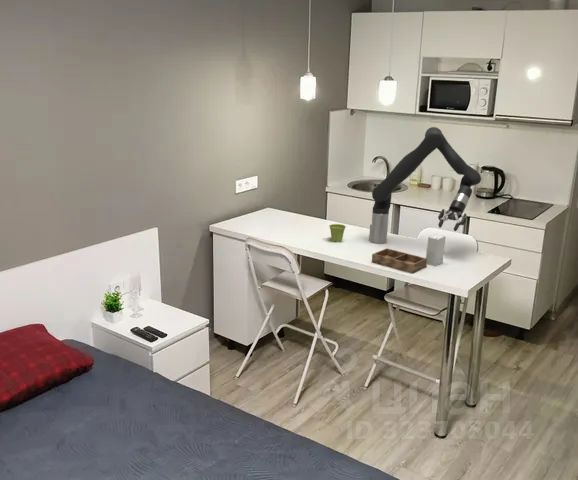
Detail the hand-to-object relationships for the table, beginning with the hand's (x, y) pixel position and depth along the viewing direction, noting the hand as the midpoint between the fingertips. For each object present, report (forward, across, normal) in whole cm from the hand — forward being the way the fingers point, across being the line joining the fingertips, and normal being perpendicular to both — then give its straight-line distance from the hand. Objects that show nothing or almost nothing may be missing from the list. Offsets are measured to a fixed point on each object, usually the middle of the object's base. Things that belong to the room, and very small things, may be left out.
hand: (447, 228), depth 320 cm
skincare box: (+20, 0, +4) cm, 20 cm away
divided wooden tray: (+30, -12, -6) cm, 33 cm away
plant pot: (+22, -60, +2) cm, 64 cm away
